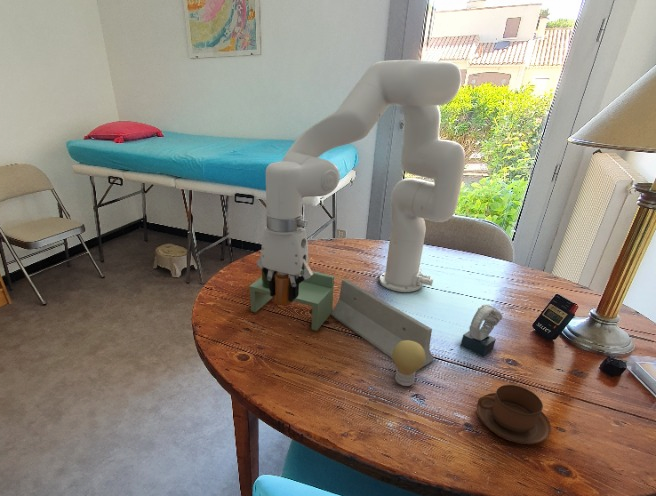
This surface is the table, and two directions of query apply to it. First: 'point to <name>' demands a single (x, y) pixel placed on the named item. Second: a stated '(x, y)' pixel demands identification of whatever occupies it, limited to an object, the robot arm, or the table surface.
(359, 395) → the table surface
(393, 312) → the barrier
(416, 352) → the light bulb
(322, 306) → the spice rack
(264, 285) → the green bottle
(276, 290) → the amber bottle
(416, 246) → the robot arm
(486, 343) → the watch
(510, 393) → the cup and saucer
